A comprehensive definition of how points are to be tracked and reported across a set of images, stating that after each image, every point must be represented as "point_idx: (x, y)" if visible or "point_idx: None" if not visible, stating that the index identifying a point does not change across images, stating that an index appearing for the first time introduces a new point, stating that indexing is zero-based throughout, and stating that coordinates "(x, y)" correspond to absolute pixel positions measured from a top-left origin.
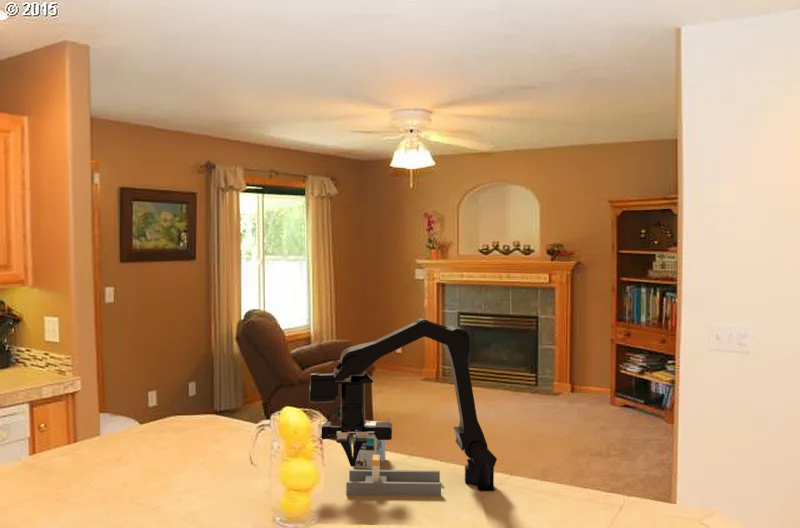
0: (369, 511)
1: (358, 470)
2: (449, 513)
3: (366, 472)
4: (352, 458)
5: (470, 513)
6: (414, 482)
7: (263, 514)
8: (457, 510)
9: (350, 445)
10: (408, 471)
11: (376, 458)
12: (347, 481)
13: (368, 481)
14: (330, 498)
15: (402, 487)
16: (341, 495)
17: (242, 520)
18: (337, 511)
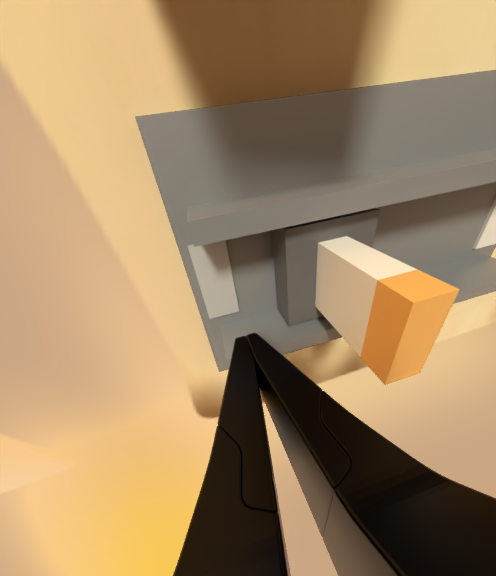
0: (294, 359)
1: (246, 225)
2: (450, 315)
3: (289, 223)
4: (258, 383)
5: (486, 303)
6: (457, 294)
7: (42, 454)
8: (471, 298)
9: (284, 541)
10: (491, 178)
11: (414, 357)
12: (229, 359)
13: (301, 298)
14: (166, 332)
15: None
16: (192, 302)
17: (19, 484)
18: (220, 383)
